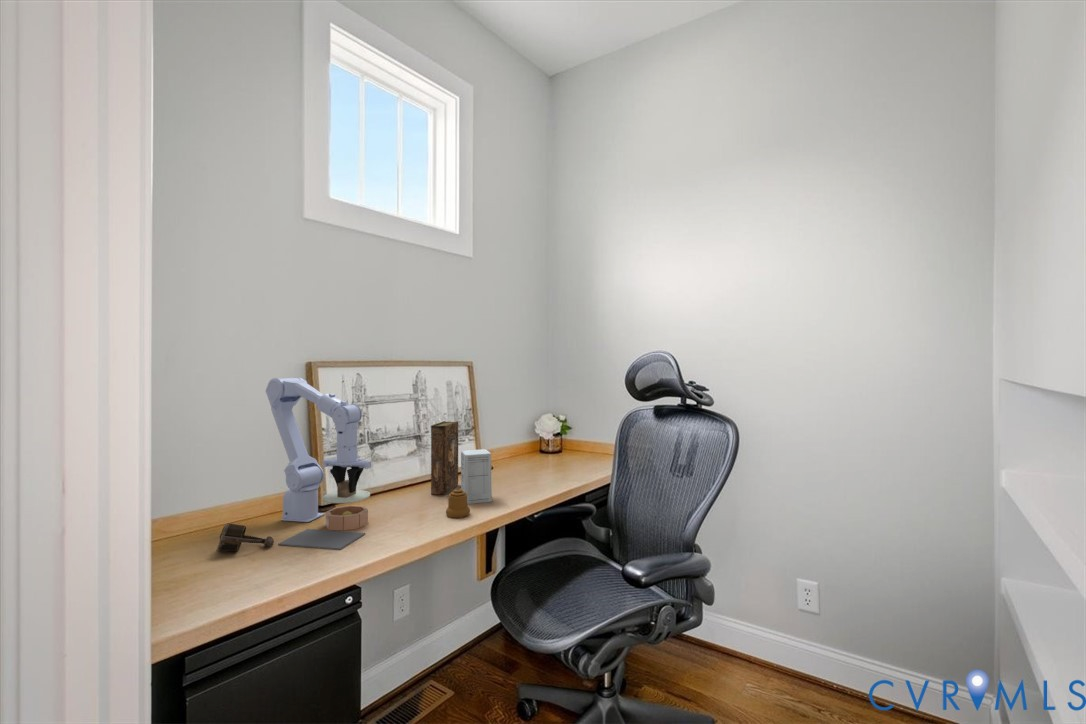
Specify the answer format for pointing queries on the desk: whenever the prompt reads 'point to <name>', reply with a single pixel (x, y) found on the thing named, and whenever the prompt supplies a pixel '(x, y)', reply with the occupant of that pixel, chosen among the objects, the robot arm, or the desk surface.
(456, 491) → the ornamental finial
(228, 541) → the dark brown handled piece
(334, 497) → the lid
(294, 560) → the desk surface
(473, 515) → the desk surface
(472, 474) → the grey cabinet
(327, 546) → the mat
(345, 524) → the bowl
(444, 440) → the book
